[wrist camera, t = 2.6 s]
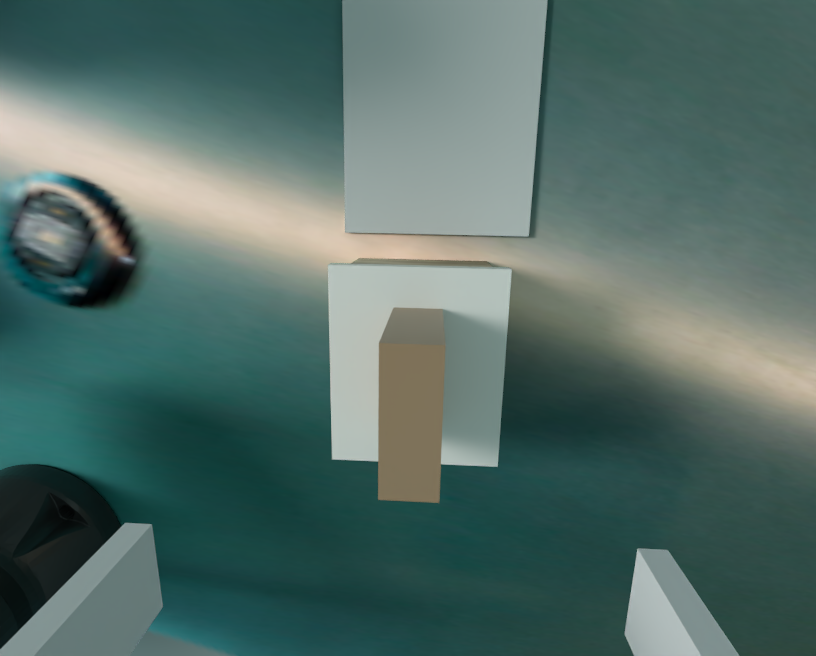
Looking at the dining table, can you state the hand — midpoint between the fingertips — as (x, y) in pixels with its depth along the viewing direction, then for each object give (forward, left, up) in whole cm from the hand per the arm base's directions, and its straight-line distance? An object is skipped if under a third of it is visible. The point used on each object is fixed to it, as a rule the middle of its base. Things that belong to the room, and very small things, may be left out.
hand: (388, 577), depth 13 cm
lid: (0, 0, -20) cm, 20 cm away
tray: (+16, -1, -27) cm, 31 cm away
